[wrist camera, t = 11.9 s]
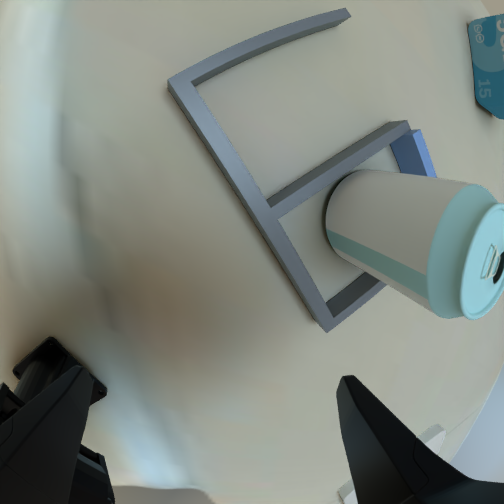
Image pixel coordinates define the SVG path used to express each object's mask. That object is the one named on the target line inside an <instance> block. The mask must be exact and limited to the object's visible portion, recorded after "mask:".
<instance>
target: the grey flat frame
mask: <svg viewBox="0 0 504 504" xmlns="http://www.w3.org/2000/svg"><path fill="white" fill-rule="evenodd" d="M350 17H351V15H350V14H349V12H348V11H347V9H346V8H342V9H338V10H334V11H330V12H327V13H323V14H319V15H316V16H312V17H309V18H306V19H302V20H299V21H296V22H293V23H290V24H287V25H284V26H281V27H279V28H276V29H273V30H270V31H268V32H265V33H262V34H260V35H257V36H255V37H252V38H250V39H248V40H245V41H243V42H241V43H238V44H236V45H234V46H231V47H229V48H227V49H225V50H223V51H221V52H219V53H216V54H214V55H212V56H210V57H208V58H206V59H204V60H202V61H200V62H198V63H197V64H195V65H193V66H191V67H189V68H187V69H185V70H183V71H182V72H180V73H178V74H176V75H175V76H173V77H171V78H169V79H168V89H169V91H170V92H171V94H172V96H173V97H174V99H175V100H176V102H177V103H178V105H179V106H180V108H181V109H182V111H183V112H184V114H185V115H186V117H187V118H188V120H189V121H190V123H191V124H192V126H193V127H194V129H195V130H196V132H197V134H198V135H199V137H200V138H201V140H202V141H203V143H204V144H205V146H206V147H207V149H208V150H209V152H210V154H211V155H212V157H213V158H214V160H215V161H216V163H217V164H218V166H219V168H220V169H221V171H222V172H223V174H224V175H225V177H226V178H227V180H228V182H229V183H230V185H231V186H232V188H233V189H234V191H235V193H236V194H237V196H238V197H239V199H240V200H241V202H242V204H243V205H244V207H245V208H246V210H247V211H248V213H249V215H250V216H251V218H252V219H253V221H254V223H255V224H256V226H257V227H258V229H259V231H260V232H261V234H262V235H263V237H264V239H265V240H266V242H267V243H268V245H269V247H270V248H271V250H272V251H273V253H274V255H275V256H276V258H277V259H278V261H279V263H280V264H281V266H282V267H283V269H284V271H285V272H286V274H287V276H288V277H289V279H290V280H291V282H292V284H293V285H294V287H295V289H296V290H297V292H298V293H299V295H300V297H301V298H302V300H303V302H304V303H305V305H306V307H307V308H308V310H309V312H310V313H311V315H312V316H313V318H314V320H315V321H316V322H317V323H318V324H319V326H320V327H321V328H322V329H323V330H324V331H325V332H326V333H328V332H329V331H330V330H332V329H333V328H334V327H336V326H337V325H338V324H339V323H341V322H342V321H343V320H345V319H346V318H347V317H348V316H350V315H351V314H352V313H354V312H355V311H356V310H357V309H359V308H360V307H361V306H362V305H363V304H365V303H366V302H367V301H368V300H370V299H371V298H372V297H373V296H374V295H376V294H377V293H378V292H379V291H380V290H382V289H383V288H384V287H385V286H386V285H387V284H385V283H384V282H382V281H380V280H379V279H377V278H375V277H374V276H372V275H370V274H369V273H367V272H365V273H364V274H363V275H361V276H360V277H359V278H358V279H356V280H355V281H354V282H353V283H351V284H350V285H349V286H348V287H346V288H345V289H344V290H342V291H341V292H340V293H339V294H337V295H336V296H335V297H333V298H332V299H331V300H329V301H328V302H327V303H325V302H324V300H323V298H322V296H321V294H320V293H319V291H318V289H317V287H316V285H315V284H314V282H313V280H312V278H311V277H310V275H309V273H308V271H307V269H306V268H305V266H304V264H303V262H302V261H301V259H300V257H299V255H298V254H297V252H296V250H295V249H294V247H293V245H292V243H291V242H290V240H289V238H288V236H287V235H286V233H285V231H284V230H283V228H282V226H281V225H280V223H279V221H278V219H279V218H280V217H282V216H283V215H285V214H286V213H288V212H289V211H291V210H292V209H293V208H295V207H296V206H298V205H299V204H301V203H302V202H304V201H305V200H307V199H308V198H310V197H311V196H313V195H314V194H316V193H317V192H319V191H320V190H321V189H323V188H324V187H326V186H327V185H329V184H330V183H332V182H333V181H335V180H336V179H338V178H339V177H341V176H342V175H344V174H345V173H347V172H348V171H350V170H351V169H353V168H354V167H356V166H357V165H359V164H360V163H362V162H363V161H365V160H366V159H368V158H369V157H371V156H372V155H374V154H375V153H377V152H378V151H380V150H381V149H383V148H384V147H386V146H387V145H389V144H390V145H391V148H392V150H393V152H394V155H395V157H396V160H397V162H398V165H399V168H400V170H401V173H404V174H413V175H420V176H428V177H435V178H437V177H436V173H435V170H434V167H433V164H432V161H431V158H430V155H429V152H428V149H427V146H426V144H425V141H424V138H423V136H422V133H421V130H420V129H419V130H411V129H410V126H409V124H408V121H407V120H403V121H393V122H389V123H387V124H386V125H384V126H382V127H381V128H379V129H377V130H376V131H374V132H372V133H371V134H369V135H367V136H366V137H364V138H363V139H361V140H359V141H358V142H356V143H355V144H353V145H351V146H350V147H348V148H346V149H345V150H343V151H342V152H340V153H339V154H337V155H335V156H334V157H332V158H331V159H329V160H327V161H326V162H324V163H323V164H321V165H320V166H318V167H316V168H315V169H313V170H312V171H310V172H309V173H307V174H306V175H304V176H302V177H301V178H299V179H298V180H296V181H295V182H293V183H292V184H290V185H289V186H287V187H286V188H284V189H283V190H281V191H280V192H278V193H276V194H275V195H273V196H272V197H270V198H269V199H267V200H266V199H265V198H264V196H263V194H262V193H261V191H260V189H259V188H258V186H257V185H256V183H255V181H254V180H253V178H252V176H251V175H250V173H249V171H248V170H247V168H246V167H245V165H244V163H243V162H242V160H241V159H240V157H239V155H238V154H237V152H236V151H235V149H234V147H233V146H232V144H231V143H230V141H229V139H228V138H227V136H226V135H225V133H224V132H223V130H222V129H221V127H220V125H219V124H218V122H217V121H216V119H215V118H214V116H213V115H212V113H211V111H210V110H209V108H208V107H207V105H206V104H205V102H204V101H203V99H202V98H201V96H200V95H199V93H198V92H197V90H196V89H195V86H196V85H198V84H200V83H202V82H204V81H205V80H207V79H209V78H211V77H213V76H215V75H217V74H219V73H221V72H223V71H225V70H227V69H229V68H231V67H233V66H235V65H237V64H239V63H241V62H243V61H245V60H247V59H250V58H252V57H254V56H256V55H259V54H261V53H263V52H266V51H268V50H270V49H273V48H275V47H278V46H280V45H283V44H285V43H288V42H290V41H293V40H296V39H298V38H301V37H304V36H307V35H310V34H312V33H315V32H318V31H321V30H325V29H328V28H331V27H334V26H338V25H339V24H341V23H342V22H344V21H345V20H347V19H348V18H350Z"/></svg>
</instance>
